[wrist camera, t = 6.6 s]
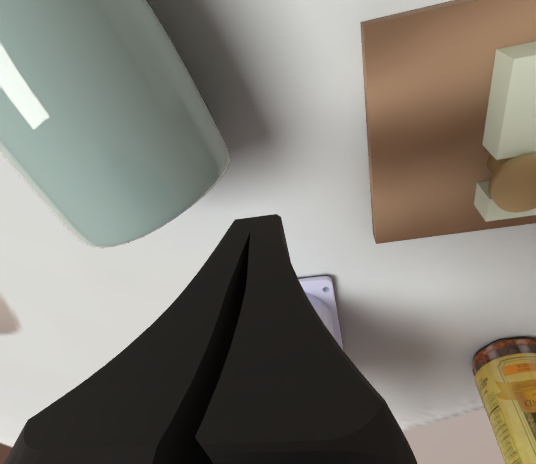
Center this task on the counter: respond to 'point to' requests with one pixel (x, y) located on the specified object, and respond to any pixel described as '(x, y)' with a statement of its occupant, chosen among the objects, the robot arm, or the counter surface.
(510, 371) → the sauce bottle
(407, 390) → the counter surface
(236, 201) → the counter surface
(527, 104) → the panel
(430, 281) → the counter surface
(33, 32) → the cup
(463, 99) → the board
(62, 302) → the counter surface
